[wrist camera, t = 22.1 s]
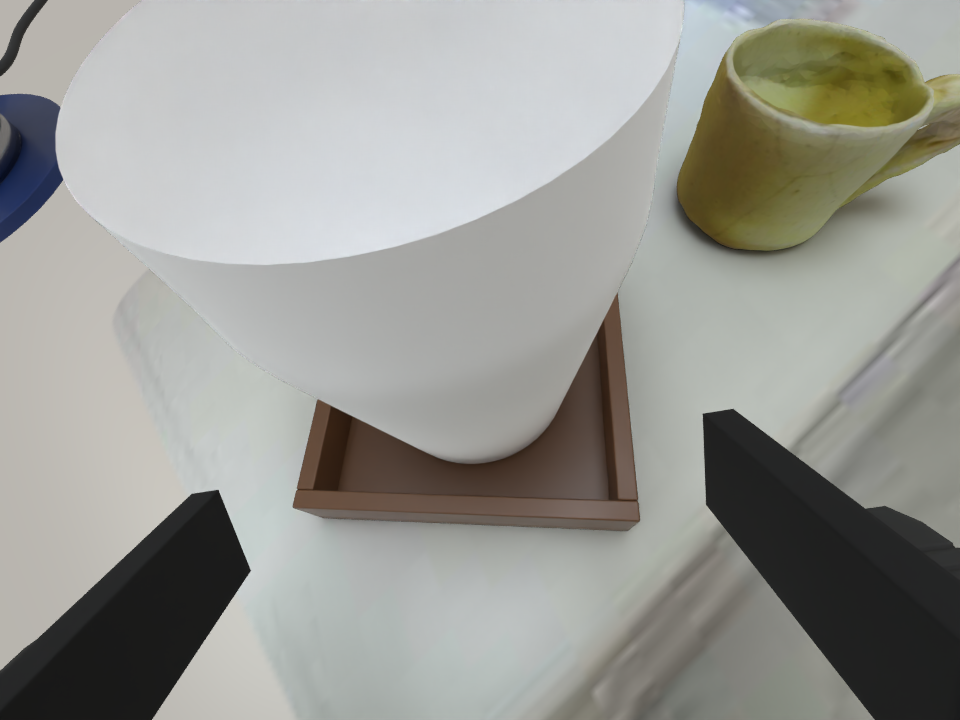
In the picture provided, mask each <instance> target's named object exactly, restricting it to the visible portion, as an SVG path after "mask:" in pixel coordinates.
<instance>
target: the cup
mask: <svg viewBox="0 0 960 720" xmlns="http://www.w3.org/2000/svg"><path fill="white" fill-rule="evenodd" d="M683 18H684V0H141V1H140V2H139V3H137V4H136V5H135V6H134V7H133V8H132V9H131V10H129V11H128V12H127V13H126V14H125V15H124V16H123V17H122V18H121V19H120V20H119V21H118V22H117V23H116V24H115V25H114V26H113V27H112V28H111V29H110V30H109V31H108V32H107V33H106V34H105V35H104V36H103V37H102V39H101V40H100V41H99V42H98V43H97V45H96V46H95V47H94V48H93V49H92V51H91V52H90V53H89V55H88V56H87V58H86V59H85V60H84V61H83V63H82V64H81V66H80V68H79V69H78V71H77V73H76V74H75V76H74V78H73V79H72V81H71V83H70V86H69V88H68V90H67V92H66V94H65V97H64V99H63V102H62V106H61V108H60V112H59V115H58V121H57V127H56V133H55V138H56V156H57V161H58V166H59V170H60V172H61V175H62V177H63V180H64V182H65V185H66V186H67V188H68V189H69V191H70V192H71V194H72V195H73V197H74V198H75V200H76V201H77V203H78V204H79V205H80V206H81V207H82V208H83V209H84V210H85V211H86V212H87V213H88V214H89V215H90V216H91V217H92V218H93V219H94V220H95V221H96V222H98V223H99V224H100V225H101V226H102V227H103V228H104V229H105V230H106V231H108V232H109V233H110V234H111V235H112V236H113V237H114V238H115V239H117V240H118V241H119V242H120V243H121V244H122V245H123V246H124V247H126V248H127V249H128V250H129V251H130V252H131V253H132V254H133V255H134V256H136V257H137V258H138V259H139V260H140V261H141V262H142V263H143V264H144V265H145V266H147V267H148V268H149V269H150V270H151V271H152V272H153V273H154V274H156V275H157V276H158V277H159V278H160V279H161V280H162V281H163V282H164V283H165V284H166V285H167V286H169V287H170V288H171V289H172V290H173V291H174V292H175V293H176V294H177V295H178V296H179V297H180V298H182V299H183V300H184V301H185V302H186V303H187V304H188V305H189V306H190V307H191V308H192V309H193V310H194V311H196V312H197V313H198V314H199V315H200V316H201V317H202V318H203V319H204V320H205V321H206V322H207V323H208V324H209V325H210V327H211V328H212V329H213V330H214V331H215V332H216V333H217V334H218V335H219V336H220V337H221V338H222V339H223V340H224V341H225V342H226V343H227V344H228V345H229V346H230V347H231V348H233V349H234V350H235V351H236V352H238V353H239V354H240V355H242V356H243V357H244V358H246V359H247V360H248V361H250V362H251V363H253V364H255V365H256V366H258V367H259V368H261V369H263V370H264V371H266V372H267V373H269V374H271V375H273V376H274V377H276V378H278V379H280V380H281V381H283V382H285V383H287V384H289V385H291V386H293V387H295V388H297V389H299V390H301V391H303V392H305V393H307V394H309V395H311V396H313V397H315V398H317V399H319V400H321V401H323V402H325V403H327V404H329V405H331V406H333V407H335V408H337V409H339V410H341V411H343V412H345V413H347V414H349V415H351V416H353V417H355V418H357V419H359V420H361V421H363V422H365V423H367V424H369V425H371V426H373V427H375V428H377V429H379V430H381V431H383V432H385V433H387V434H389V435H392V436H394V437H396V438H398V439H400V440H402V441H404V442H406V443H408V444H410V445H412V446H414V447H416V448H418V449H420V450H422V451H424V452H426V453H428V454H430V455H432V456H435V457H437V458H439V459H443V460H446V461H450V462H454V463H462V464H480V463H488V462H493V461H497V460H500V459H503V458H506V457H508V456H511V455H513V454H515V453H517V452H519V451H521V450H522V449H524V448H525V447H527V446H528V445H530V444H531V443H532V442H533V441H535V440H536V439H537V438H538V437H539V436H540V435H541V434H542V433H543V432H544V431H545V430H546V428H547V427H548V426H549V425H550V423H551V422H552V420H553V419H554V417H555V415H556V413H557V411H558V409H559V407H560V405H561V403H562V401H563V399H564V397H565V395H566V393H567V391H568V389H569V387H570V385H571V383H572V381H573V379H574V377H575V376H576V374H577V372H578V370H579V368H580V366H581V364H582V362H583V360H584V358H585V356H586V354H587V352H588V350H589V348H590V346H591V344H592V342H593V340H594V338H595V336H596V334H597V332H598V330H599V328H600V326H601V324H602V322H603V320H604V318H605V316H606V314H607V312H608V310H609V308H610V306H611V304H612V302H613V300H614V298H615V296H616V294H617V292H618V290H619V288H620V286H621V284H622V282H623V280H624V278H625V276H626V274H627V272H628V270H629V268H630V266H631V264H632V261H633V259H634V256H635V254H636V251H637V249H638V246H639V243H640V241H641V238H642V236H643V233H644V230H645V228H646V225H647V221H648V217H649V212H650V208H651V203H652V197H653V191H654V184H655V177H656V170H657V163H658V157H659V152H660V146H661V140H662V135H663V129H664V123H665V118H666V112H667V107H668V101H669V96H670V91H671V85H672V80H673V75H674V70H675V64H676V59H677V54H678V48H679V43H680V38H681V32H682V27H683Z"/></svg>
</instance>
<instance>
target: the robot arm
mask: <svg viewBox="0 0 960 720" xmlns="http://www.w3.org/2000/svg"><path fill="white" fill-rule="evenodd" d="M47 1H48V0H34V2H33V3H32V4H31V5H30V7H29V8H28V9H27V10H26V12H25V13H24V14H23V16H22V17H21V19H20V20H19V22H18V23H17V25H16V27H15V29H14V31H13V33H12V36H11V39H10V42H9V46H8V48H7V51H6V53H5V55H4V56H3V58H2V59H1V60H0V76H2V75H3V74H4V73H5V72H6V71H7V70H8V69H9V68H10V66H11V65H12V64H13V62H14V60H15V58H16V56H17V53H18V51H19V47H20V44H21V41H22V38H23V35H24V33H25V32H26V30H27V28H28V26H29V25H30V23H31V22H32V20H33V19H34V18H35V16H36V15H37V13H38V12H39V11H40V10H41V8H42V7H43V6H44V5H45V3H46V2H47ZM21 148H22V136H21V133H20V131H19V130H18V129H17V128H16V127H15V126H14V125H13V124H12V123H11V122H9V121H8V120H7V119H6V118H5V117H4V116H3V115H1V114H0V184H1V183H2V182H3V181H4V179H5V178H6V177H7V176H8V174H9V173H10V172H11V170H12V169H13V167H14V166H15V164H16V162H17V160H18V158H19V155H20V152H21ZM703 430H704V458H705V486H706V505H707V506H708V508H709V509H710V510H711V511H712V513H713V514H714V515H715V516H716V518H717V519H718V520H719V522H720V523H721V524H722V525H723V527H724V528H725V529H726V531H727V532H728V533H729V534H730V536H731V537H732V538H733V539H734V541H735V542H736V543H737V545H738V546H739V547H740V548H741V550H742V551H743V552H744V553H745V555H746V556H747V557H748V559H749V560H750V561H751V562H752V564H753V565H754V566H755V568H756V569H757V570H758V571H759V573H760V574H761V575H762V576H763V578H764V579H765V580H766V582H767V583H768V584H769V585H770V587H771V588H772V589H773V590H774V592H775V593H776V594H777V596H778V597H779V598H780V599H781V601H782V602H783V603H784V605H785V606H786V607H787V608H788V610H789V611H790V612H791V613H792V615H793V616H794V617H795V619H796V620H797V621H798V622H799V624H800V625H801V626H802V627H803V629H804V630H805V631H806V633H807V634H808V635H809V636H810V638H811V639H812V640H813V642H814V643H815V644H816V645H817V647H818V648H819V649H820V650H821V652H822V653H823V654H824V656H825V657H826V658H827V659H828V661H829V662H830V663H831V664H832V666H833V667H834V668H835V670H836V671H837V672H838V673H839V675H840V676H841V677H842V679H843V680H844V681H845V682H846V684H847V685H848V686H849V687H850V689H851V690H852V691H853V693H854V694H855V695H856V696H857V698H858V699H859V700H860V701H861V703H862V704H863V705H864V707H865V708H866V709H867V710H868V712H869V713H870V714H871V716H872V717H873V718H874V719H875V720H960V548H955V547H954V546H953V543H952V542H950V541H949V540H947V539H946V538H944V537H943V536H942V535H940V534H939V533H937V532H936V531H934V530H933V529H931V528H930V527H928V526H927V525H926V524H924V523H923V522H921V521H918V520H916V519H914V518H911V517H909V516H907V515H905V514H902V513H900V512H898V511H895V510H893V509H891V508H888V507H886V506H882V507H875V508H868V509H865V508H864V507H862V506H861V505H860V504H858V503H857V502H856V501H854V500H853V499H852V498H850V497H849V496H848V495H846V494H845V493H844V492H842V491H841V490H840V489H838V488H837V487H836V486H834V485H833V484H832V483H830V482H829V481H828V480H826V479H825V478H824V477H823V476H821V475H820V474H819V473H817V472H816V471H815V470H813V469H812V468H811V467H809V466H808V465H807V464H805V463H804V462H803V461H801V460H800V459H799V458H797V457H796V456H795V455H793V454H792V453H791V452H789V451H788V450H787V449H785V448H784V447H783V446H781V445H780V444H779V443H778V442H776V441H775V440H774V439H772V438H771V437H770V436H768V435H767V434H766V433H764V432H763V431H762V430H760V429H759V428H758V427H756V426H755V425H754V424H752V423H751V422H750V421H748V420H747V419H746V418H744V417H743V416H742V415H740V414H739V413H738V412H736V411H735V410H734V409H730V410H724V411H717V412H711V413H705V414H703ZM250 571H251V570H250V568H249V565H248V563H247V560H246V558H245V555H244V553H243V550H242V548H241V545H240V543H239V540H238V538H237V535H236V533H235V530H234V528H233V525H232V523H231V520H230V518H229V515H228V513H227V510H226V508H225V505H224V503H223V500H222V498H221V495H220V493H219V490H214V491H208V492H201V493H195V494H191V495H190V496H189V497H188V498H187V499H186V500H185V501H184V502H183V503H182V504H181V505H180V506H179V507H178V508H176V509H175V510H174V511H173V512H172V513H171V514H170V515H169V516H168V517H167V518H166V519H165V520H164V521H163V522H161V523H160V524H159V525H158V526H157V527H156V528H155V529H154V530H153V531H152V532H151V533H150V534H149V535H148V536H147V537H145V538H144V539H143V540H142V541H141V542H140V543H139V544H138V545H137V546H136V547H135V548H134V549H133V550H132V551H131V552H130V553H129V554H127V555H126V556H125V557H124V558H123V559H122V560H121V561H120V562H119V563H118V564H117V565H116V566H115V567H114V568H112V569H111V570H110V571H109V572H108V573H107V574H106V575H105V576H104V577H103V578H102V579H101V580H100V581H99V582H98V583H97V584H95V585H94V586H93V587H92V588H91V589H90V590H89V591H88V592H87V593H86V594H85V595H84V596H83V597H82V598H81V599H80V600H78V601H77V602H76V603H75V604H74V605H73V606H72V607H71V608H70V609H69V610H68V611H67V612H66V613H65V614H63V615H62V616H61V617H60V618H59V619H58V620H57V621H56V622H55V623H54V624H53V625H52V626H51V627H50V628H49V629H48V630H46V632H44V633H43V634H42V635H41V636H40V637H39V638H38V639H37V640H35V641H34V642H33V643H31V644H30V645H28V646H27V647H26V648H24V649H23V650H22V651H21V652H20V653H19V654H18V655H17V656H16V657H15V658H13V659H12V660H11V661H10V662H9V663H8V664H7V665H6V666H5V667H4V668H3V669H2V670H1V671H0V720H152V719H153V717H154V716H155V714H156V713H157V711H158V710H159V708H160V707H161V705H162V704H163V702H164V701H165V699H166V698H167V696H168V695H169V693H170V692H171V690H172V688H173V687H174V685H175V684H176V683H177V681H178V680H179V678H180V676H181V675H182V674H183V672H184V670H185V669H186V668H187V666H188V664H189V663H190V662H191V660H192V658H193V657H194V655H195V654H196V652H197V651H198V649H199V648H200V646H201V645H202V643H203V642H204V640H205V639H206V637H207V636H208V634H209V633H210V631H211V630H212V628H213V627H214V625H215V624H216V622H217V621H218V619H219V618H220V616H221V615H222V613H223V612H224V610H225V609H226V607H227V606H228V604H229V603H230V601H231V600H232V598H233V597H234V595H235V594H236V592H237V591H238V589H239V588H240V586H241V585H242V583H243V582H244V580H245V579H246V577H247V576H248V574H249V573H250Z"/></svg>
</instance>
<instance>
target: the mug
mask: <svg viewBox="0 0 960 720" xmlns="http://www.w3.org/2000/svg"><path fill="white" fill-rule="evenodd" d="M928 124H929V125H928ZM924 125H927V126H925V127H924V128H922V129H919V128H920V127H922V126H924ZM918 129H919V130H918ZM959 144H960V74H952V75H944V76H940V77H937V78H934V79H931V80H929V81H927V82H925V83H924V80H923V77H922V74H921V72H920V70H919V68H918V66H917V64H916V61H915V60H913V59H912V58H910V57H909V56H907V55H906V54H905V53H903V52H902V51H901V50H900V49H899V48H897V47H896V46H894V45H892V44H890V43H888V42H887V41H886V40H885V38H883V37H880V36H877V35H874V34H872V33H870V32H868V31H865V30H861V29H858V28H854V27H851V26H847V25H841V24H838V23H833V22H826V21H818V20H812V19H781V20H777V21H774V22H772V23H771V24H769V25H767V26H765V27H763V28H758V29H753V30H749V31H746V32H745V33H743V34H741V35H740V36H739V37H736V39H735V40H734V41H733V43H732V44H731V46H730V48H729V49H728V50H727V52H726V53H725V55H724V57H723V59H722V61H721V63H720V66H719V68H718V70H717V73H716V76H715V79H714V81H713V83H712V86H711V87H710V89H709V91H708V93H707V96H706V98H705V101H704V104H703V108H702V113H701V117H700V120H699V122H698V124H697V128H696V131H695V134H694V137H693V140H692V142H691V144H690V147H689V150H688V152H687V155H686V158H685V160H684V162H683V165H682V167H681V170H680V173H679V176H678V182H677V196H678V200H679V202H680V203H681V205H682V206H683V208H684V211H685V213H686V215H687V216H688V218H689V219H690V220H691V221H692V222H694V223H695V224H696V225H697V226H698V227H699V228H700V229H701V230H702V231H703V232H705V233H706V234H707V235H708V236H710V237H711V238H713V239H714V240H715V241H716V242H718V243H720V244H722V245H724V246H727V247H730V248H733V249H746V250H764V251H770V250H779V249H783V248H788V247H792V246H795V245H797V244H800V243H802V242H805V241H806V240H808V239H809V238H811V237H812V236H813V235H815V234H816V233H817V232H818V231H819V230H820V229H821V228H822V227H823V225H824V224H825V223H826V222H827V221H828V219H829V218H830V217H831V216H832V215H833V213H834V212H835V211H836V210H837V209H838V208H840V207H842V206H844V205H846V204H848V203H849V202H851V201H852V200H854V199H855V198H857V197H858V196H859V195H861V194H863V193H865V192H866V191H868V190H870V189H872V188H873V187H875V186H877V185H879V184H880V183H882V182H883V181H885V180H886V179H889V178H891V177H894V176H898V175H901V174H903V173H905V172H908V171H909V170H911V169H914V168H916V167H918V166H920V165H922V164H924V163H925V162H927V161H928V160H930V159H931V158H933V157H935V156H936V155H939V154H941V153H945V152H947V151H948V150H950V149H952V148H953V147H955V146H957V145H959Z"/></svg>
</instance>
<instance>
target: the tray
mask: <svg viewBox="0 0 960 720" xmlns="http://www.w3.org/2000/svg"><path fill="white" fill-rule="evenodd" d="M297 489H298V490H297V491H296V494H295V498H294V503H293V508H295V509H298V510H301V511H304V512H307V513H310V514H313V515H316V516H319V517H321V518H333V519H357V520H380V521H404V522H427V523H450V524H474V525H497V526H521V527H544V528H567V529H591V530H614V531H628V530H629V529H630V528H632V527H633V526H634V525H636V524H637V523H638V522H639V521H640V513H639V503H638V501H637V500H638V493H637V483H636V473H635V463H634V453H633V443H632V433H631V423H630V413H629V403H628V393H627V383H626V373H625V363H624V353H623V343H622V332H621V322H620V312H619V302H618V292H617V294H616V296H615V298H614V300H613V302H612V304H611V306H610V308H609V310H608V312H607V314H606V316H605V318H604V320H603V322H602V324H601V326H600V328H599V330H598V332H597V334H596V336H595V338H594V340H593V342H592V344H591V346H590V348H589V350H588V352H587V354H586V356H585V358H584V360H583V362H582V364H581V366H580V368H579V370H578V372H577V374H576V376H575V377H574V379H573V381H572V383H571V385H570V387H569V389H568V391H567V393H566V395H565V397H564V399H563V401H562V403H561V405H560V407H559V409H558V411H557V413H556V415H555V417H554V419H553V420H552V422H551V423H550V425H549V426H548V427H547V428H546V430H545V431H544V432H543V433H542V434H541V435H540V436H539V437H538V438H537V439H536V440H535V441H533V442H532V443H531V444H530V445H528V446H527V447H525V448H524V449H522V450H521V451H519V452H517V453H515V454H513V455H511V456H508V457H506V458H503V459H500V460H497V461H493V462H488V463H480V464H462V463H454V462H450V461H446V460H443V459H439V458H437V457H435V456H432V455H430V454H428V453H426V452H424V451H422V450H420V449H418V448H416V447H414V446H412V445H410V444H408V443H406V442H404V441H402V440H400V439H398V438H396V437H394V436H392V435H389V434H387V433H385V432H383V431H381V430H379V429H377V428H375V427H373V426H371V425H369V424H367V423H365V422H363V421H361V420H359V419H357V418H355V417H353V416H351V415H349V414H347V413H345V412H343V411H341V410H339V409H337V408H335V407H333V406H331V405H329V404H327V403H325V402H323V401H321V400H319V399H318V400H317V404H316V408H315V413H314V417H313V421H312V426H311V430H310V434H309V438H308V443H307V447H306V451H305V455H304V460H303V464H302V468H301V472H300V477H299V481H298V485H297Z"/></svg>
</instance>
